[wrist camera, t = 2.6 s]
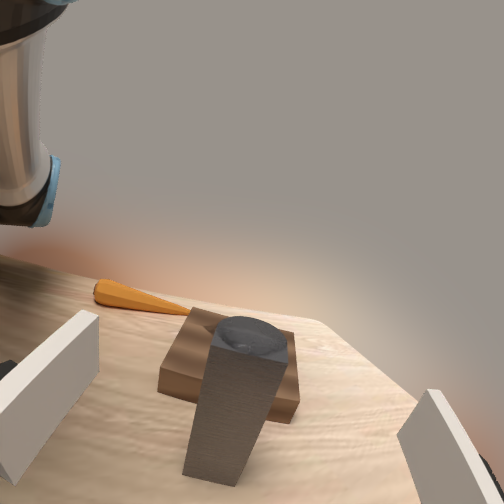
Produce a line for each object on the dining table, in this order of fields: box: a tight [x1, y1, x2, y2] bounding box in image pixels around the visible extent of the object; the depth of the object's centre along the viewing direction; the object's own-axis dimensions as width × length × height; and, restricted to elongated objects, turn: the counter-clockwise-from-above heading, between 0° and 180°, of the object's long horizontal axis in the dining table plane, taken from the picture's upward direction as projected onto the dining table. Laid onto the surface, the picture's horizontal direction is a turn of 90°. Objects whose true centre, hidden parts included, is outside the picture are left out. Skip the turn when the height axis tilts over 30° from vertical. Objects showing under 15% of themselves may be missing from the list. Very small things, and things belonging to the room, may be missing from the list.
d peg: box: [182, 316, 288, 487], centre depth 24 cm, size 5×5×16 cm
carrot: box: [93, 279, 191, 315], centre depth 51 cm, size 20×4×4 cm, turn 103°
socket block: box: [157, 307, 300, 424], centre depth 41 cm, size 16×16×4 cm
